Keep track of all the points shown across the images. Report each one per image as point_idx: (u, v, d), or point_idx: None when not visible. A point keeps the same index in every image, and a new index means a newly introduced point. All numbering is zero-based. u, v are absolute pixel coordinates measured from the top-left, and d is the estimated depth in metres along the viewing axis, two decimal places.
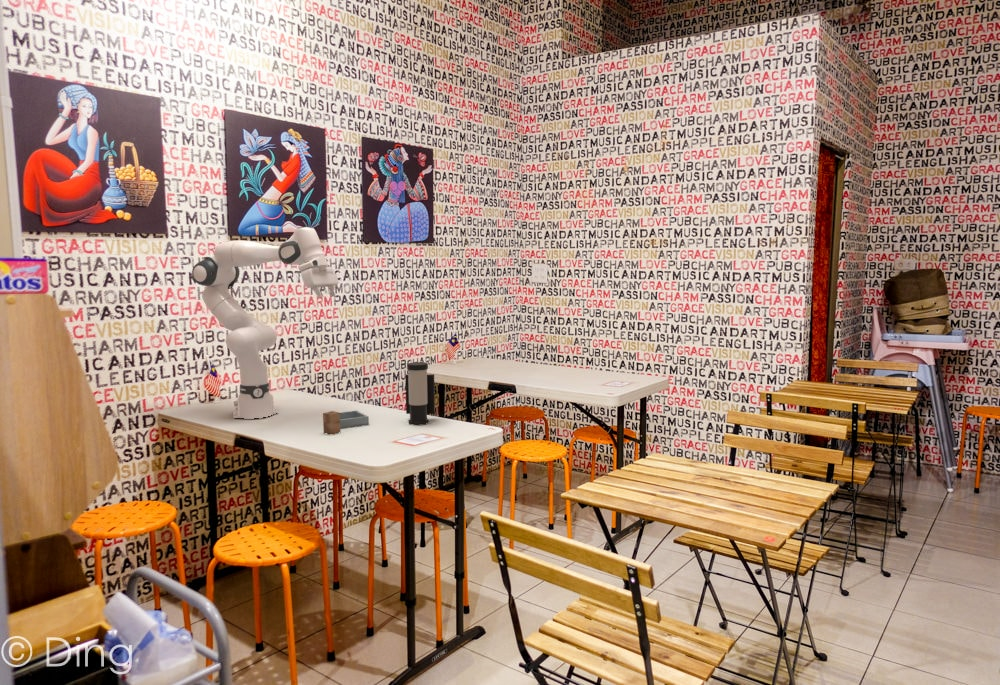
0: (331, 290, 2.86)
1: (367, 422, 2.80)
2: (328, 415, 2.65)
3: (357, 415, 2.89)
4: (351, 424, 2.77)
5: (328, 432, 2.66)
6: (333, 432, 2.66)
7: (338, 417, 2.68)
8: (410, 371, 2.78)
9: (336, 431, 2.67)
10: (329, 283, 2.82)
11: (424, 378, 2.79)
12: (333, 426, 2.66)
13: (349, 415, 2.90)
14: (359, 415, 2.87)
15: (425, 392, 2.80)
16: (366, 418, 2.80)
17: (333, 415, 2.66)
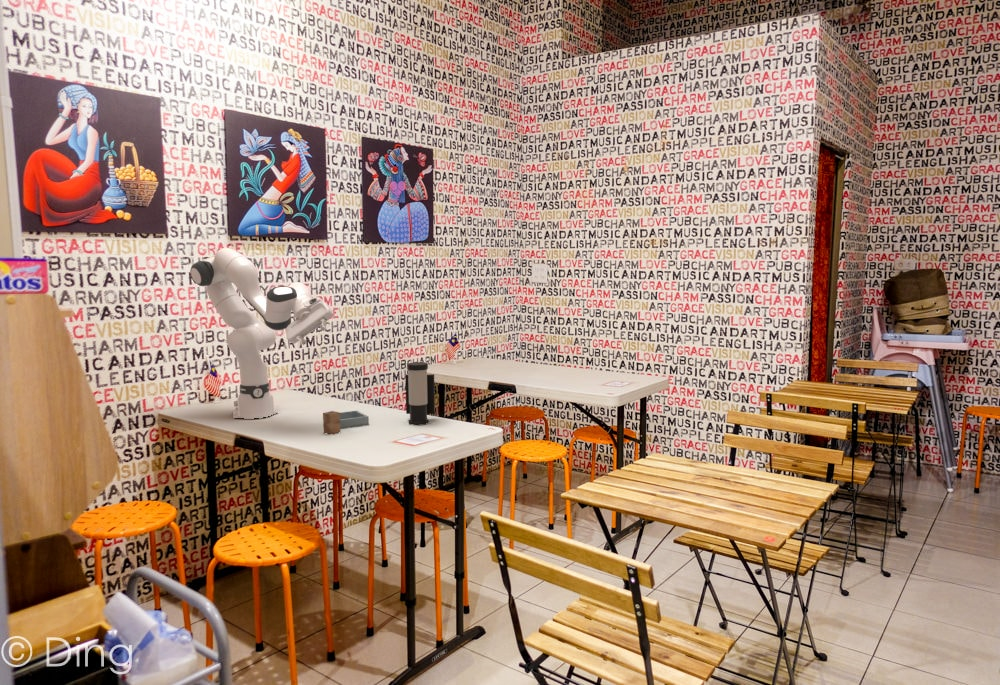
0: (301, 339, 2.65)
1: (367, 422, 2.80)
2: (328, 415, 2.65)
3: (357, 415, 2.89)
4: (351, 424, 2.77)
5: (328, 432, 2.66)
6: (333, 432, 2.66)
7: (338, 417, 2.68)
8: (410, 371, 2.78)
9: (336, 431, 2.67)
10: None
11: (424, 378, 2.79)
12: (333, 426, 2.66)
13: (349, 415, 2.90)
14: (359, 415, 2.87)
15: (425, 392, 2.80)
16: (366, 418, 2.80)
17: (333, 415, 2.66)
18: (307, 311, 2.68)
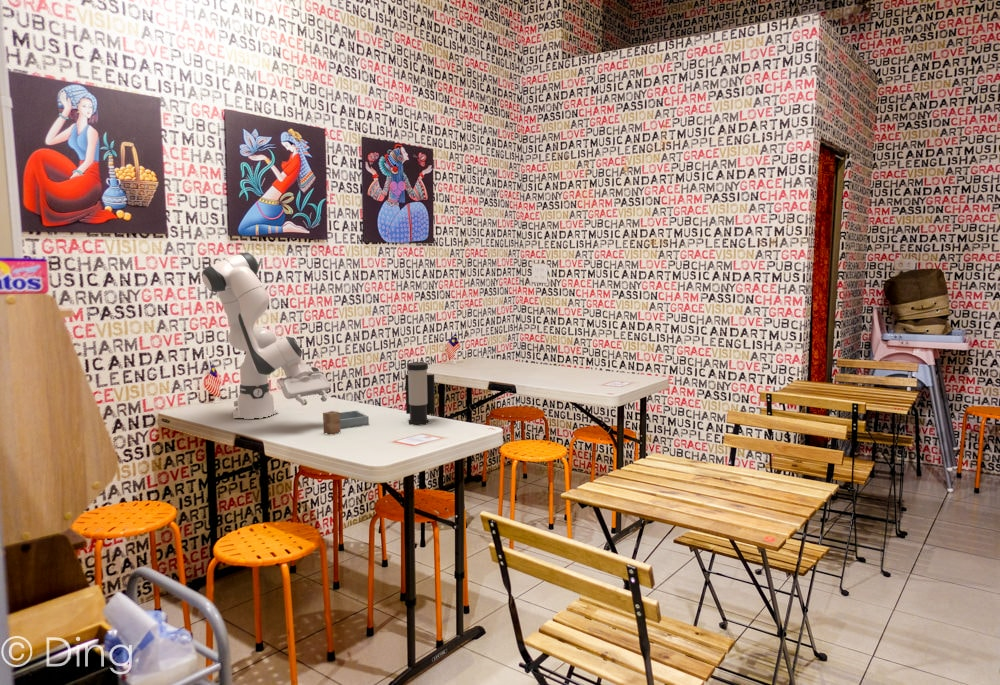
0: None
1: (367, 422, 2.80)
2: (328, 415, 2.65)
3: (357, 415, 2.89)
4: (351, 424, 2.77)
5: (328, 432, 2.66)
6: (333, 432, 2.66)
7: (338, 417, 2.68)
8: (410, 371, 2.78)
9: (336, 431, 2.67)
10: None
11: (424, 378, 2.79)
12: (333, 426, 2.66)
13: (349, 415, 2.90)
14: (359, 415, 2.87)
15: (425, 392, 2.80)
16: (366, 418, 2.80)
17: (333, 415, 2.66)
18: (308, 376, 2.75)
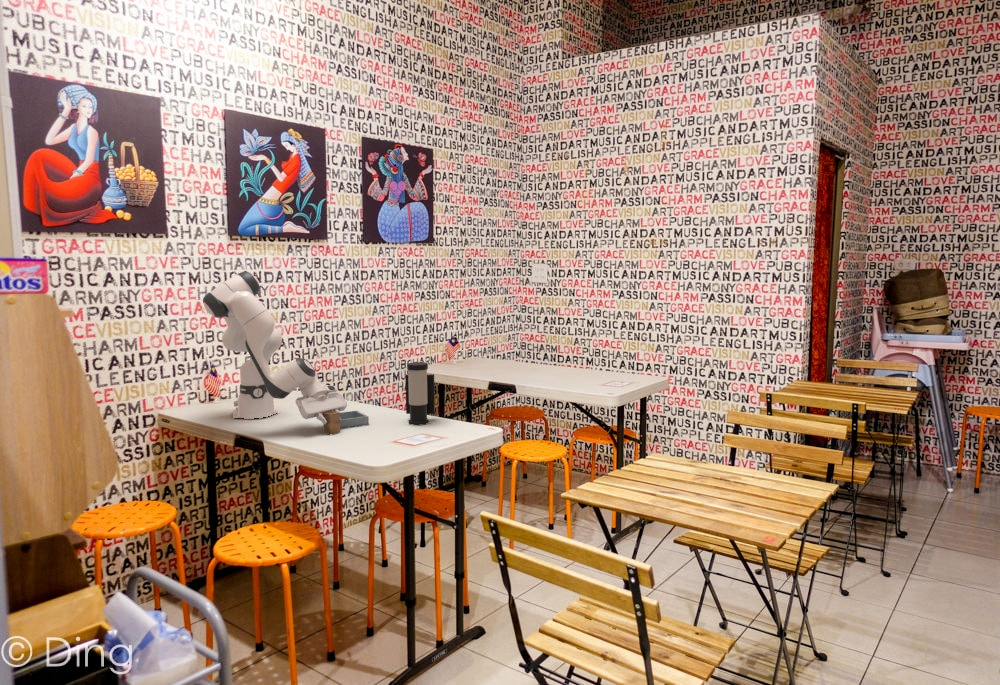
0: None
1: (367, 422, 2.80)
2: (328, 415, 2.65)
3: (357, 415, 2.89)
4: (351, 424, 2.77)
5: (328, 432, 2.66)
6: (333, 432, 2.66)
7: (338, 417, 2.68)
8: (410, 371, 2.78)
9: (336, 431, 2.67)
10: None
11: (424, 378, 2.79)
12: (333, 426, 2.66)
13: (349, 415, 2.90)
14: (359, 415, 2.87)
15: (425, 392, 2.80)
16: (366, 418, 2.80)
17: (333, 415, 2.66)
18: (325, 395, 2.72)
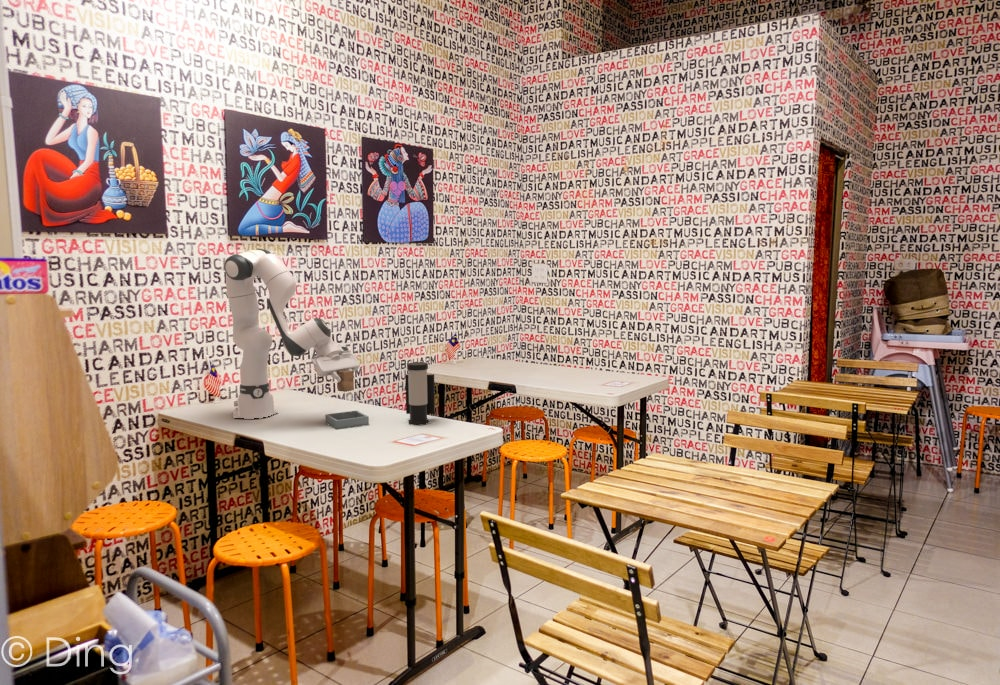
0: None
1: (367, 422, 2.80)
2: (342, 373, 2.78)
3: (357, 415, 2.89)
4: (351, 424, 2.77)
5: (342, 389, 2.79)
6: (347, 389, 2.79)
7: (352, 375, 2.81)
8: (410, 371, 2.78)
9: (350, 388, 2.80)
10: None
11: (424, 378, 2.79)
12: (347, 384, 2.79)
13: (349, 415, 2.90)
14: (359, 415, 2.87)
15: (425, 392, 2.80)
16: (366, 418, 2.80)
17: (347, 373, 2.78)
18: (339, 355, 2.85)
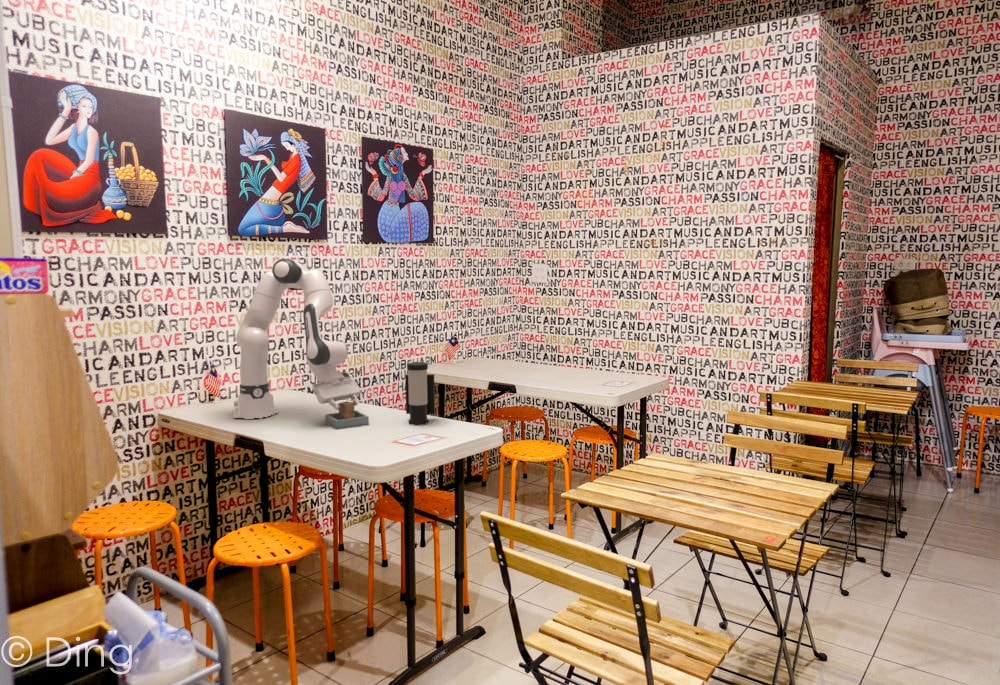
0: None
1: (367, 422, 2.80)
2: (343, 405, 2.80)
3: (357, 415, 2.89)
4: (351, 424, 2.77)
5: None
6: None
7: (353, 407, 2.82)
8: (410, 371, 2.78)
9: None
10: None
11: (424, 378, 2.79)
12: (348, 416, 2.80)
13: None
14: (359, 415, 2.87)
15: (425, 392, 2.80)
16: (366, 418, 2.80)
17: (348, 405, 2.80)
18: (340, 381, 2.86)
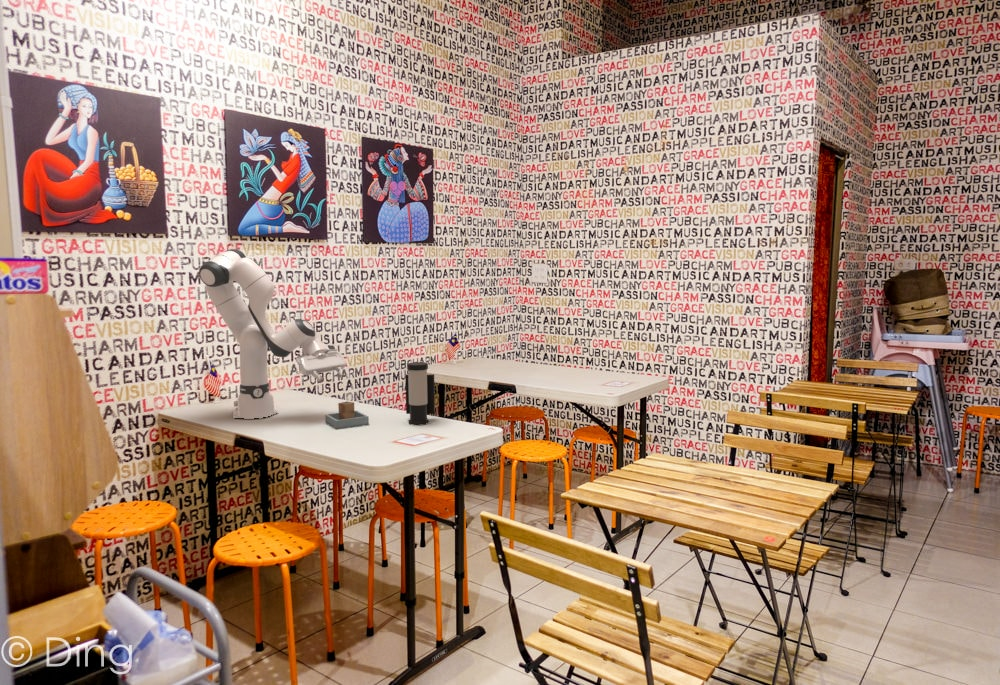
0: None
1: (367, 422, 2.80)
2: (343, 405, 2.80)
3: (357, 415, 2.89)
4: (351, 424, 2.77)
5: None
6: None
7: (353, 407, 2.82)
8: (410, 371, 2.78)
9: None
10: None
11: (424, 378, 2.79)
12: (348, 416, 2.80)
13: None
14: (359, 415, 2.87)
15: (425, 392, 2.80)
16: (366, 418, 2.80)
17: (348, 405, 2.80)
18: (324, 353, 2.89)
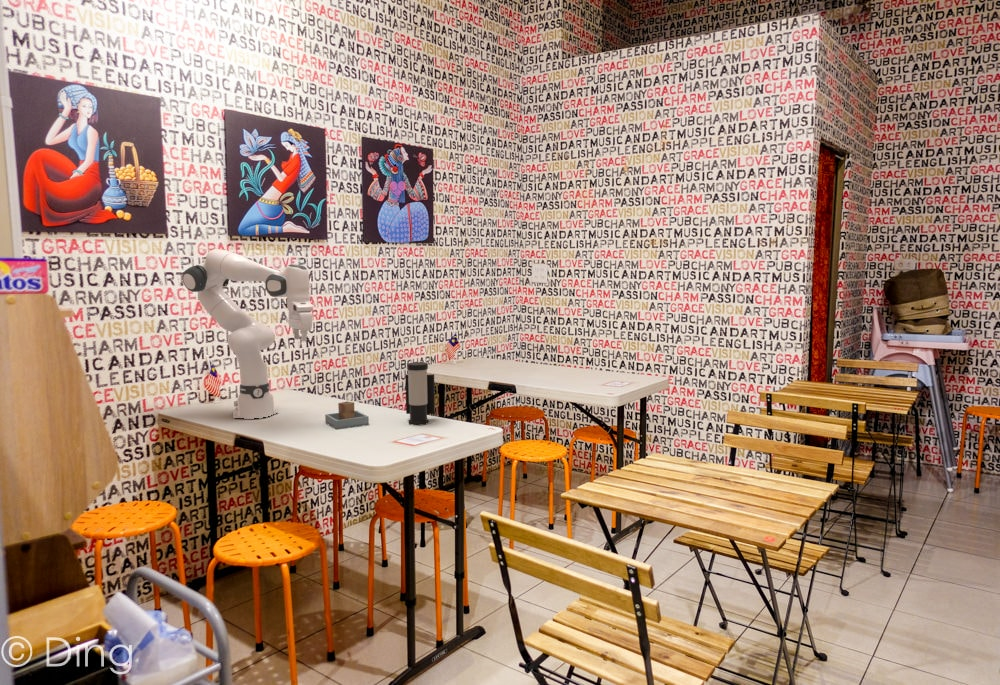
0: (295, 332, 2.79)
1: (367, 422, 2.80)
2: (343, 405, 2.80)
3: (357, 415, 2.89)
4: (351, 424, 2.77)
5: None
6: None
7: (353, 407, 2.82)
8: (410, 371, 2.78)
9: None
10: None
11: (424, 378, 2.79)
12: (348, 416, 2.80)
13: None
14: (359, 415, 2.87)
15: (425, 392, 2.80)
16: (366, 418, 2.80)
17: (348, 405, 2.80)
18: (294, 312, 2.71)
